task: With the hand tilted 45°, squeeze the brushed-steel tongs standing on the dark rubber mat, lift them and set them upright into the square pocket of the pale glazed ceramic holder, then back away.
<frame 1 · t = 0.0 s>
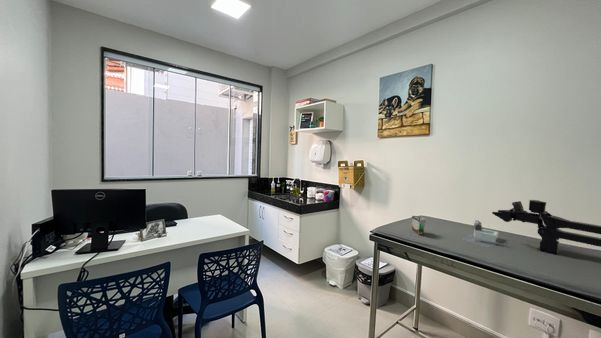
hand: (495, 211, 154), 17 cm above the table, tool horizontal, fingers open, 9 cm apart
food container: (419, 233, 162), on the table
instrument mat: (481, 239, 151), on the table
holder: (486, 238, 153), resting on instrument mat
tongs: (476, 240, 148), resting on instrument mat
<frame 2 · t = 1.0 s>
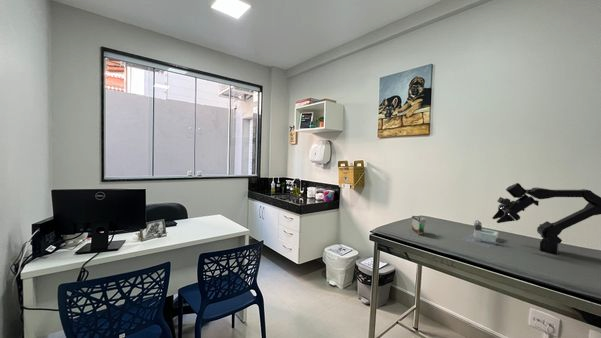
hand: (494, 220, 144), 14 cm above the table, tool tilted 45°, fingers open, 9 cm apart
nothing on the table moved.
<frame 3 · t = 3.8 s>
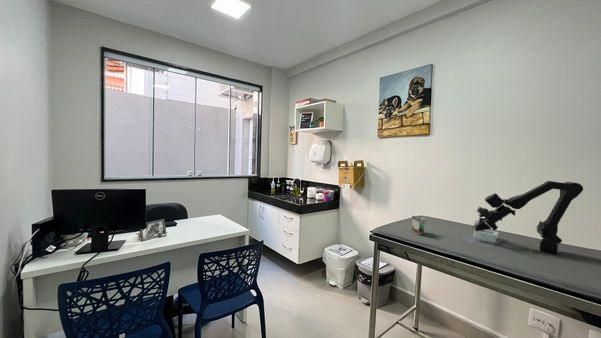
hand: (474, 229, 148), 7 cm above the table, tool tilted 45°, fingers closed on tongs, 4 cm apart
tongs: (476, 240, 148), resting on instrument mat, touching gripper
everything else where it was.
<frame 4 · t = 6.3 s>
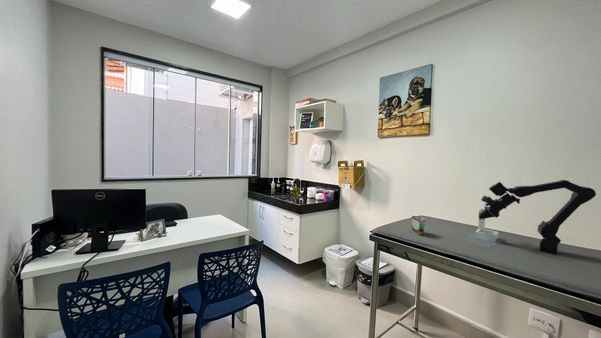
hand: (479, 218, 150), 13 cm above the table, tool tilted 45°, fingers closed on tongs, 4 cm apart
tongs: (481, 228, 150), point 7 cm above the table, touching gripper
everything else where it was.
when the fingers open (8 cm above the table, at t = 8.9 s): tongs drops 1 cm, resting on instrument mat.
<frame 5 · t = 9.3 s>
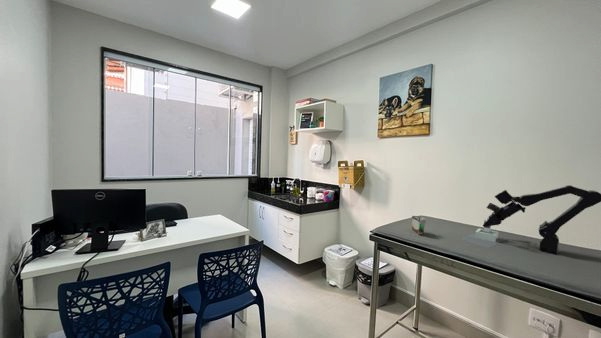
hand: (484, 224, 154), 9 cm above the table, tool tilted 45°, fingers open, 9 cm apart
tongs: (486, 237, 153), resting on instrument mat
everything else where it was.
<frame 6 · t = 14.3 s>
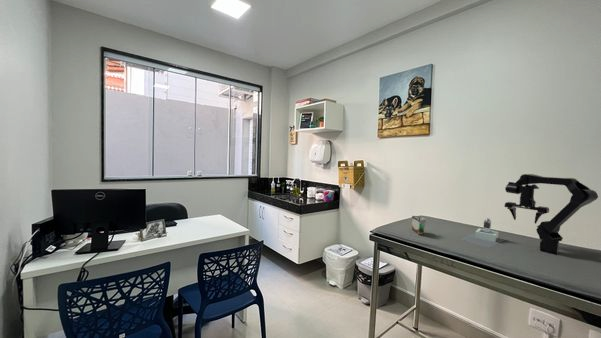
hand: (524, 221, 145), 13 cm above the table, tool pointing down, fingers open, 9 cm apart
nothing on the table moved.
at the end: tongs 0.1 cm off-centre on the holder, point 0.0 cm above the holder's base; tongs tilted 0°; the gripper is holding nothing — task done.
